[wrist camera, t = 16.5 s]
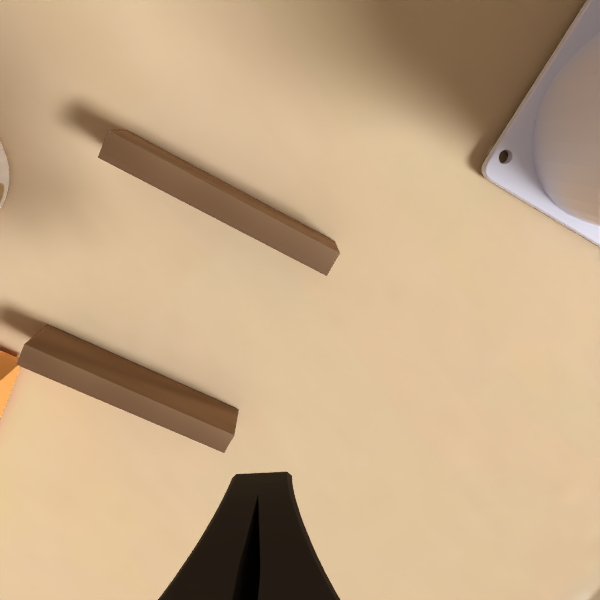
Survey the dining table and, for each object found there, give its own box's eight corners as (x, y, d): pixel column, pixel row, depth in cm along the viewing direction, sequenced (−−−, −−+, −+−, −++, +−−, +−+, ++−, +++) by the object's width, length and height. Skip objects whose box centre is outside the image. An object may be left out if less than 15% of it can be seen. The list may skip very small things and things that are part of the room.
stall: (126, 130, 19) (108, 130, 17) (334, 241, 20) (339, 253, 18) (40, 343, 21) (16, 364, 20) (229, 426, 23) (224, 452, 21)
